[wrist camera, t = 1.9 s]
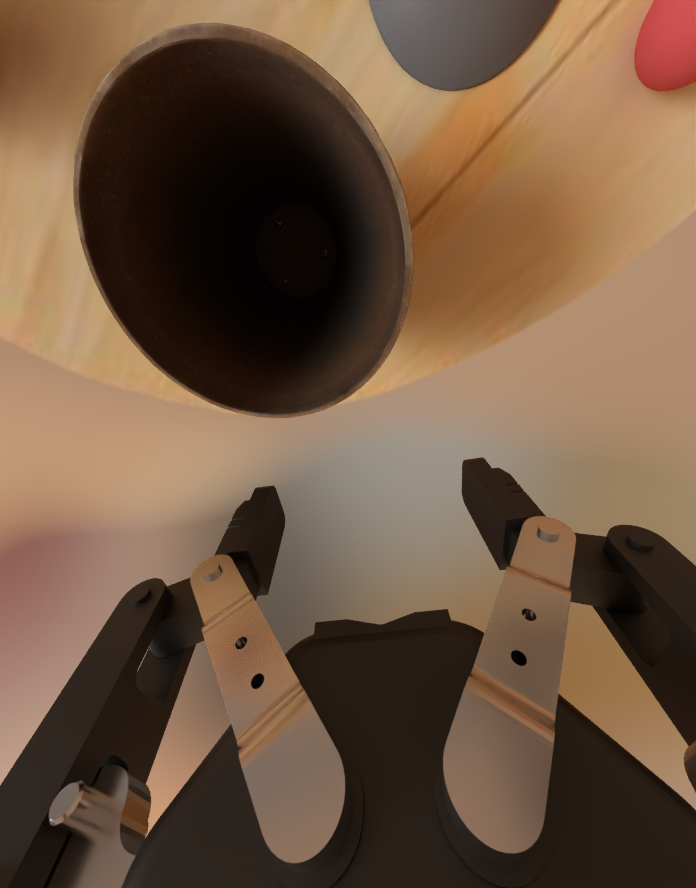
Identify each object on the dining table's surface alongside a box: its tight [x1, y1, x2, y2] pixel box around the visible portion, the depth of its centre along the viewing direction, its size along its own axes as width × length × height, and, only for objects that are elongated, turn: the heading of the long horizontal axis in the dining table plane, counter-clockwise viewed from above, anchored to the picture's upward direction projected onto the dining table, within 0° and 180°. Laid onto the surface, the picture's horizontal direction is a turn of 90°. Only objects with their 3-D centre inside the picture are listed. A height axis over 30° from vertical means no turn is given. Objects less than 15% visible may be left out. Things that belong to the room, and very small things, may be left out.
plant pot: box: [73, 23, 413, 418], centre depth 20 cm, size 15×15×16 cm
